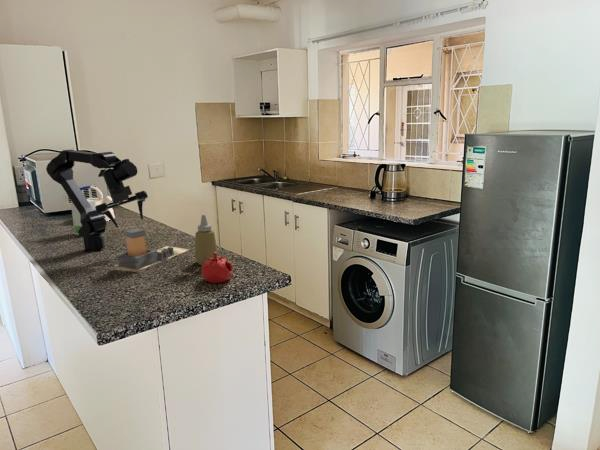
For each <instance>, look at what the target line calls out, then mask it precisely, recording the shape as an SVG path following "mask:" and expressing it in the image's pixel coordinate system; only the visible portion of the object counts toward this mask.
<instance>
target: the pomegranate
mask: <svg viewBox="0 0 600 450" xmlns="http://www.w3.org/2000/svg"><path fill="white" fill-rule="evenodd" d="M213 256H214V258H213V259H212V258H205V259H210V260H209V261H206V262H205V263H204V264H203V265H202V267H200V268H201V270H200V273H201V276H202V279H203V280H205V281H206V282H208V283H210V284H220V283H224V282H227V281H229V280H230V279H231V278H232V274H233V270H234V269H233V265H232V263H231V262H230V261H229V260H228V258H227V255H221V256H218V257H217V253H216V252H214V255H213Z"/></svg>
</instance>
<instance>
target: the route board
mask: <svg viewBox="0 0 600 450" xmlns="http://www.w3.org/2000/svg"><path fill="white" fill-rule="evenodd" d="M190 250H191V249H190V248H183V247H176V246H168V245H167V246H164V247H161V248H158V249H150V248H146V252H147V253H146V254H143V255H141V256H138V257H135V256H128V250H126V251H123V252H121V253H118V254H116V262H117V264H115V265H114V269H116V270H121V271H129V272H134V273H139V274H141V273H144V272H146V271H148V270H150V268H149V267H152V266H154V265H157V264H159V263H161V262H163V261H167V260H169V259H171V258H173V257H175V256H178V255H181V254H183V253H186V252H189V251H190Z"/></svg>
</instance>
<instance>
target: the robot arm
mask: <svg viewBox="0 0 600 450" xmlns="http://www.w3.org/2000/svg"><path fill="white" fill-rule="evenodd" d="M75 162H76V163H77V162H78V163H85V164H89V165H91V166H92V167H94V168H97V169H100V171H99V173H98V178H102V177H103V179H104V183H105V185H106V187H107V190H108V193H109V195H110V197H111V198H112V201H111V202H110V203H109V204H107V205H106V203H103V204H100V205H97V206H96V207H95V209H96V210H95V209H93V208H92V207H91V205H90V204H89V202H88V201H87V198H86V196H85V195H84V192H82V190H80V188H81V187H79V185H78V184H77V182H76V181H75V179H74V170H73V168H74V167H75ZM45 171H46V172H47V175H49V177H50V178H51V179H52V180H53V181H54V182H56V183H58V184H60V185H61V187H62V188H63V190H64V191H65V192H66V194H67V196H68V198H69V199H70V202H71V201H72V202H73V204H74V205H75V207H76V208H77V210H78V211H79V213H80V222H81V224H82V226H81V228H80V229H79V231H78V234H79V237H80V238H82V239H83V244H84V245H83V246H84V250H83V253H84V252H85V253H87V252H88V253H89V252H100V251H102V250H103V249H104V248H105V244H106V243H105V239H104V236H103V233H105V232H106V227H107V223H108V222H106V219H105V216H104V215H106V216H107V217H108V218H110V219H111V221H110V222H112V223H113V224H114V226H115V227H116V228H117V229H119V225H118V223H117V222H116V220H115V219H114V218H113V216H112V214H111V212H110V211H108V210H109V209H110V208H112V209H113V208H116V207H119V206H122V205H125V204H129V203H132V202H135V201H136V203H137V207H138V211H139V216H140V219H141V220H143V219H144V217H143V214H144V213H143V205H144V202H145V201H146V199H148V198H149V195H148V193H147V191H146V190H141V191H139V192H135V193H134V195H133V192H132V189H131V188H130V185H126V186H125V184H124V181H126V180H129V179H131V178H133V177H136V176H137V174H138V167H137V166H136V165H135V164H134V163H133V162H132V161H130V159H129V158H125V159H120V158H119V157H117V156H116V155H115V153H114V152H113V151H106V152H97V153H96V152H88V151H82V150H76V149H75V150H74V149H63V150H61V151H60V152H59V153H58V155H57V156H55V157H54V158H52V159H51V160H50V161H49V162H48V163H47V165H46V167H45ZM132 195H133V196H132Z"/></svg>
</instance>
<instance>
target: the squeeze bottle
mask: <svg viewBox="0 0 600 450" xmlns="http://www.w3.org/2000/svg"><path fill="white" fill-rule="evenodd" d="M194 237H195V238H194V239H195V240H194V258H195V260H196V262H197V264H198V265H200V268H202V265H203V264H204V263H205V262H206V261H209V260H210V259H205V258H212V259H213V258H214V256H213V255H214V252H216V253H217V257H219V252H218V251H219V250H218V247H217V240H216V239H217V238H216V234H215V231H214V230H212V224H210V223H208V220H207V216H206V214H201V218H200V224H198V225H197V231H196V232H195V235H194Z"/></svg>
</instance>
